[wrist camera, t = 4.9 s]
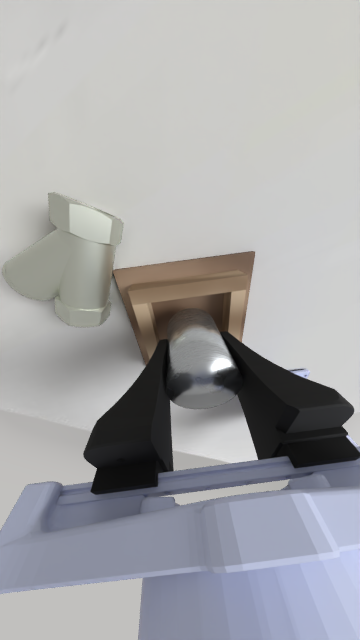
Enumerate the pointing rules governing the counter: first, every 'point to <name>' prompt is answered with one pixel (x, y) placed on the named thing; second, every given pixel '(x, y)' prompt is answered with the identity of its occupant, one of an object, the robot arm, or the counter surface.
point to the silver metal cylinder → (199, 362)
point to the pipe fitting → (70, 262)
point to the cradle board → (186, 294)
